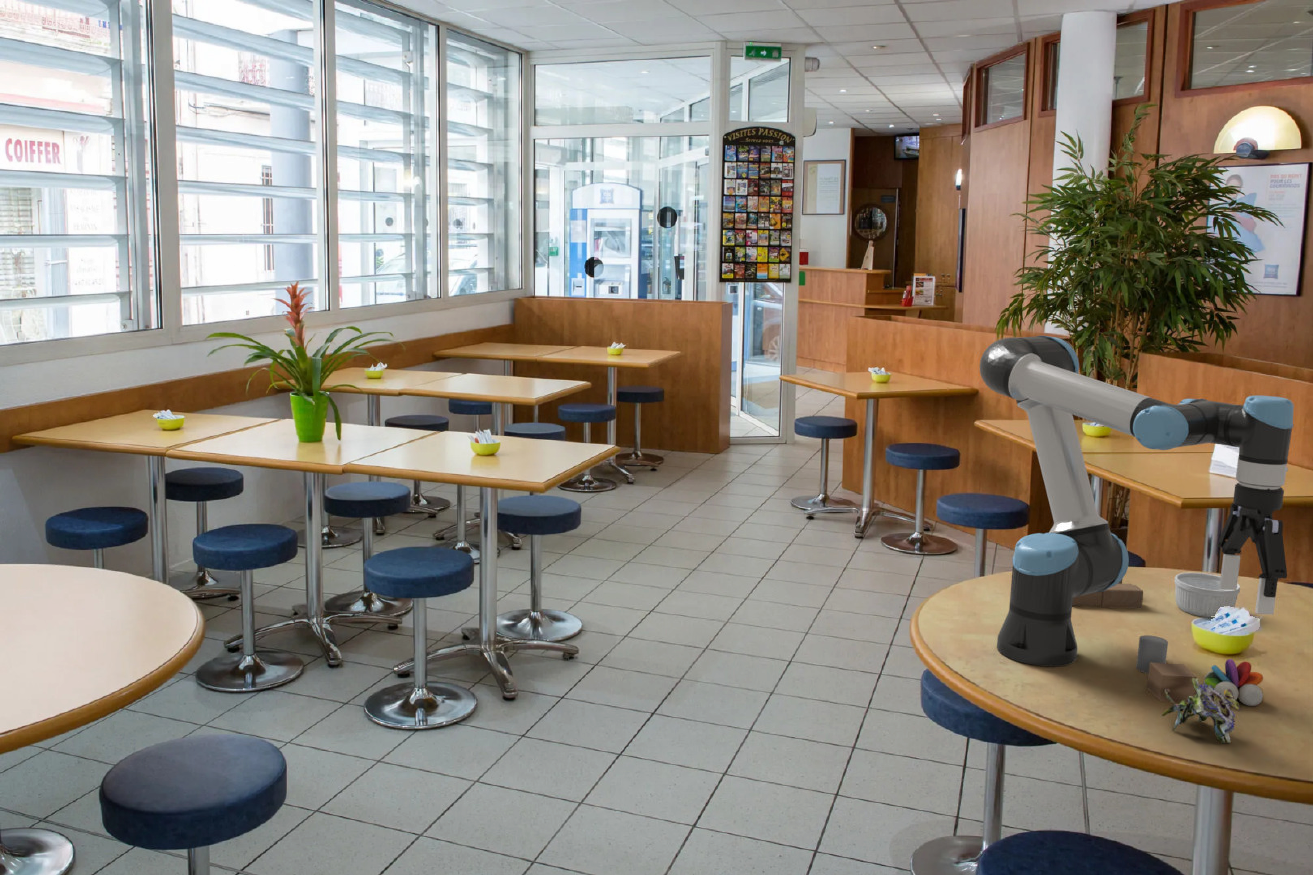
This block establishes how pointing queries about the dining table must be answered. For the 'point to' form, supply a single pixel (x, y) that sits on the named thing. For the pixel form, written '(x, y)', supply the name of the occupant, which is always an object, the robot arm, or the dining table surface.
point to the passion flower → (1207, 709)
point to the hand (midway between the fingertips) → (1245, 601)
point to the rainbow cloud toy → (1237, 682)
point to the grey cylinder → (1151, 652)
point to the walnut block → (1170, 681)
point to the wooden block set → (1113, 597)
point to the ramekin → (1202, 594)
